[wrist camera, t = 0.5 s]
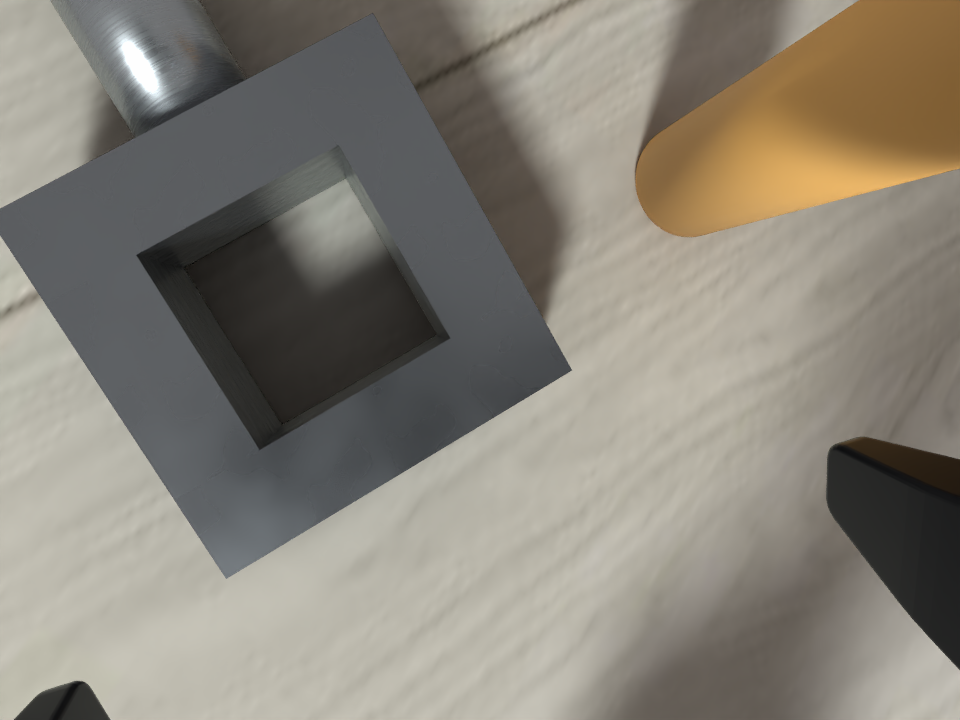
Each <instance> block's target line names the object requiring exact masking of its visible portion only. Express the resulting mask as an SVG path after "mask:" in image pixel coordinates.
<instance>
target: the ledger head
mask: <svg viewBox="0 0 960 720" xmlns="http://www.w3.org/2000/svg"><path fill="white" fill-rule="evenodd" d="M50 1H51V3H52V4H53V6H54V8H55V9H56V11H57V13H58V14H59V16H60V17H61V19H62V21H63V22H64V24H65V25H66V27H67V29H68V30H69V32H70V34H71V35H72V37H73V38H74V40H75V42H76V43H77V45H78V46H79V48H80V50H81V51H82V53H83V55H84V56H85V58H86V59H87V61H88V63H89V64H90V66H91V67H92V69H93V71H94V72H95V74H96V76H97V77H98V79H99V80H100V82H101V84H102V85H103V87H104V89H105V90H106V92H107V93H108V95H109V97H110V98H111V100H112V101H113V103H114V105H115V106H116V108H117V110H118V111H119V113H120V114H121V116H122V118H123V119H124V121H125V122H126V124H127V126H128V127H129V129H130V131H131V132H132V134H133V135H134V137H135V138H134V139H132V140H130V141H128V142H126V143H124V144H123V145H121V146H119V147H117V148H115V149H113V150H111V151H109V152H107V153H105V154H104V155H102V156H100V157H98V158H96V159H94V160H92V161H90V162H88V163H86V164H84V165H83V166H81V167H79V168H77V169H75V170H73V171H71V172H69V173H67V174H65V175H64V176H62V177H60V178H58V179H56V180H54V181H52V182H50V183H48V184H46V185H44V186H43V187H41V188H39V189H37V190H35V191H33V192H31V193H29V194H27V195H25V196H24V197H22V198H20V199H18V200H16V201H14V202H12V203H10V204H8V205H6V206H4V207H3V208H1V209H0V236H1V237H2V239H3V240H4V242H5V243H6V245H7V246H8V248H9V249H10V251H11V252H12V254H13V255H14V257H15V258H16V260H17V261H18V263H19V264H20V266H21V268H22V269H23V271H24V272H25V274H26V275H27V277H28V278H29V280H30V281H31V283H32V284H33V286H34V287H35V289H36V290H37V292H38V293H39V295H40V296H41V298H42V299H43V301H44V302H45V304H46V306H47V307H48V309H49V310H50V312H51V313H52V315H53V316H54V318H55V319H56V321H57V322H58V324H59V325H60V327H61V328H62V330H63V331H64V333H65V334H66V336H67V337H68V339H69V340H70V342H71V344H72V345H73V347H74V348H75V350H76V351H77V353H78V354H79V356H80V357H81V359H82V360H83V362H84V363H85V365H86V366H87V368H88V369H89V371H90V372H91V374H92V375H93V377H94V378H95V380H96V382H97V383H98V385H99V386H100V388H101V389H102V391H103V392H104V394H105V395H106V397H107V398H108V400H109V401H110V403H111V404H112V406H113V407H114V409H115V410H116V412H117V413H118V415H119V416H120V418H121V420H122V421H123V423H124V424H125V426H126V427H127V429H128V430H129V432H130V433H131V435H132V436H133V438H134V439H135V441H136V442H137V444H138V445H139V447H140V448H141V450H142V451H143V453H144V454H145V456H146V458H147V459H148V461H149V462H150V464H151V465H152V467H153V468H154V470H155V471H156V473H157V474H158V476H159V477H160V479H161V480H162V482H163V483H164V485H165V486H166V488H167V489H168V491H169V492H170V494H171V496H172V497H173V499H174V500H175V502H176V503H177V505H178V506H179V508H180V509H181V511H182V512H183V514H184V515H185V517H186V518H187V520H188V521H189V523H190V524H191V526H192V527H193V529H194V530H195V532H196V534H197V535H198V537H199V538H200V540H201V541H202V543H203V544H204V546H205V547H206V549H207V550H208V552H209V553H210V555H211V556H212V558H213V559H214V561H215V562H216V564H217V565H218V567H219V569H220V570H221V572H222V573H223V575H224V576H225V578H226V579H227V578H228V577H230V576H232V575H233V574H235V573H237V572H238V571H240V570H242V569H243V568H245V567H247V566H248V565H250V564H252V563H253V562H255V561H257V560H258V559H260V558H261V557H263V556H265V555H266V554H268V553H270V552H271V551H273V550H275V549H276V548H278V547H280V546H281V545H283V544H285V543H286V542H288V541H290V540H291V539H293V538H295V537H296V536H298V535H300V534H301V533H303V532H305V531H306V530H308V529H310V528H311V527H313V526H315V525H316V524H318V523H320V522H321V521H323V520H325V519H326V518H328V517H330V516H331V515H333V514H335V513H336V512H338V511H339V510H341V509H343V508H344V507H346V506H348V505H349V504H351V503H353V502H354V501H356V500H358V499H359V498H361V497H363V496H364V495H366V494H368V493H369V492H371V491H373V490H374V489H376V488H378V487H379V486H381V485H383V484H384V483H386V482H388V481H389V480H391V479H393V478H394V477H396V476H398V475H399V474H401V473H403V472H404V471H406V470H408V469H409V468H411V467H412V466H414V465H416V464H417V463H419V462H421V461H422V460H424V459H426V458H427V457H429V456H431V455H432V454H434V453H436V452H437V451H439V450H441V449H442V448H444V447H446V446H447V445H449V444H451V443H452V442H454V441H456V440H457V439H459V438H461V437H462V436H464V435H466V434H467V433H469V432H471V431H472V430H474V429H476V428H477V427H479V426H481V425H482V424H484V423H486V422H487V421H489V420H490V419H492V418H494V417H495V416H497V415H499V414H500V413H502V412H504V411H505V410H507V409H509V408H510V407H512V406H514V405H515V404H517V403H519V402H520V401H522V400H524V399H525V398H527V397H529V396H530V395H532V394H534V393H535V392H537V391H539V390H540V389H542V388H544V387H545V386H547V385H549V384H550V383H552V382H554V381H555V380H557V379H559V378H560V377H562V376H564V375H565V374H567V373H568V372H570V371H572V369H571V368H570V366H569V364H568V362H567V360H566V359H565V357H564V355H563V353H562V352H561V350H560V348H559V346H558V344H557V343H556V341H555V339H554V337H553V335H552V334H551V332H550V330H549V328H548V326H547V325H546V323H545V321H544V319H543V317H542V316H541V314H540V312H539V310H538V308H537V307H536V305H535V303H534V301H533V299H532V298H531V296H530V294H529V292H528V291H527V289H526V287H525V285H524V283H523V282H522V280H521V278H520V276H519V274H518V273H517V271H516V269H515V267H514V265H513V264H512V262H511V260H510V258H509V256H508V255H507V253H506V251H505V249H504V247H503V246H502V244H501V242H500V240H499V238H498V237H497V235H496V233H495V231H494V230H493V228H492V226H491V224H490V222H489V221H488V219H487V217H486V215H485V213H484V212H483V210H482V208H481V206H480V204H479V203H478V201H477V199H476V197H475V195H474V194H473V192H472V190H471V188H470V186H469V185H468V183H467V181H466V179H465V177H464V176H463V174H462V172H461V170H460V169H459V167H458V165H457V163H456V161H455V160H454V158H453V156H452V154H451V152H450V151H449V149H448V147H447V145H446V143H445V142H444V140H443V138H442V136H441V134H440V133H439V131H438V129H437V127H436V125H435V124H434V122H433V120H432V118H431V116H430V115H429V113H428V111H427V109H426V108H425V106H424V104H423V102H422V100H421V99H420V97H419V95H418V93H417V91H416V90H415V88H414V86H413V84H412V82H411V81H410V79H409V77H408V75H407V73H406V72H405V70H404V68H403V66H402V64H401V63H400V61H399V59H398V57H397V55H396V54H395V52H394V50H393V48H392V46H391V45H390V43H389V41H388V39H387V38H386V36H385V34H384V32H383V30H382V29H381V27H380V25H379V23H378V21H377V20H376V18H375V16H374V14H373V13H372V14H370V15H368V16H366V17H365V18H363V19H361V20H359V21H357V22H355V23H353V24H351V25H349V26H347V27H345V28H344V29H342V30H340V31H338V32H336V33H334V34H332V35H330V36H328V37H326V38H325V39H323V40H321V41H319V42H317V43H315V44H313V45H311V46H309V47H307V48H305V49H304V50H302V51H300V52H298V53H296V54H294V55H292V56H290V57H288V58H286V59H285V60H283V61H281V62H279V63H277V64H275V65H273V66H271V67H269V68H267V69H265V70H264V71H262V72H260V73H258V74H256V75H254V76H252V77H250V78H248V79H245V77H244V75H243V74H242V72H241V70H240V69H239V67H238V65H237V64H236V62H235V60H234V58H233V57H232V55H231V53H230V52H229V50H228V48H227V47H226V45H225V43H224V42H223V40H222V38H221V36H220V35H219V33H218V31H217V30H216V28H215V26H214V25H213V23H212V21H211V19H210V18H209V16H208V14H207V13H206V11H205V9H204V8H203V6H202V4H201V2H200V1H199V0H50ZM344 179H347V181H348V182H349V184H350V186H351V188H352V189H353V191H354V193H355V194H356V196H357V198H358V200H359V201H360V203H361V205H362V207H363V208H364V210H365V212H366V213H367V215H368V217H369V219H370V220H371V222H372V224H373V225H374V227H375V229H376V231H377V232H378V234H379V236H380V237H381V239H382V241H383V243H384V244H385V246H386V248H387V250H388V251H389V253H390V255H391V256H392V258H393V260H394V262H395V263H396V265H397V267H398V268H399V270H400V272H401V274H402V275H403V277H404V279H405V281H406V282H407V284H408V286H409V287H410V289H411V291H412V293H413V294H414V296H415V298H416V299H417V301H418V303H419V305H420V306H421V308H422V310H423V311H424V313H425V315H426V317H427V318H428V320H429V322H430V324H431V325H432V327H433V329H434V330H435V332H436V334H437V335H436V336H434V337H433V338H431V339H429V340H427V341H426V342H424V343H422V344H421V345H419V346H417V347H415V348H414V349H412V350H410V351H409V352H407V353H405V354H403V355H402V356H400V357H398V358H397V359H395V360H393V361H391V362H390V363H388V364H386V365H385V366H383V367H381V368H379V369H378V370H376V371H374V372H373V373H371V374H369V375H367V376H366V377H364V378H362V379H361V380H359V381H357V382H355V383H354V384H352V385H350V386H349V387H347V388H345V389H343V390H342V391H340V392H338V393H337V394H335V395H333V396H331V397H330V398H328V399H326V400H325V401H323V402H321V403H319V404H318V405H316V406H314V407H313V408H311V409H309V410H307V411H306V412H304V413H302V414H301V415H299V416H297V417H295V418H294V419H292V420H290V421H289V422H287V423H285V424H283V425H281V423H280V422H279V420H278V418H277V417H276V415H275V414H274V412H273V410H272V409H271V407H270V406H269V404H268V402H267V401H266V399H265V398H264V396H263V394H262V393H261V391H260V390H259V388H258V386H257V385H256V383H255V382H254V380H253V378H252V377H251V375H250V374H249V372H248V370H247V369H246V367H245V366H244V364H243V362H242V361H241V359H240V358H239V356H238V354H237V353H236V351H235V350H234V348H233V346H232V345H231V343H230V342H229V340H228V338H227V337H226V335H225V334H224V332H223V330H222V329H221V327H220V326H219V324H218V322H217V321H216V319H215V318H214V316H213V314H212V313H211V311H210V310H209V308H208V306H207V305H206V303H205V302H204V300H203V298H202V297H201V295H200V294H199V292H198V290H197V289H196V287H195V286H194V284H193V282H192V281H191V279H190V277H189V276H188V274H187V273H186V271H185V269H184V267H185V266H187V265H189V264H191V263H193V262H195V261H196V260H198V259H200V258H202V257H204V256H206V255H207V254H209V253H211V252H213V251H215V250H216V249H218V248H220V247H222V246H224V245H226V244H227V243H229V242H231V241H233V240H235V239H236V238H238V237H240V236H242V235H244V234H246V233H247V232H249V231H251V230H253V229H255V228H256V227H258V226H260V225H262V224H264V223H266V222H267V221H269V220H271V219H273V218H275V217H276V216H278V215H280V214H282V213H284V212H286V211H287V210H289V209H291V208H293V207H295V206H297V205H298V204H300V203H302V202H304V201H306V200H307V199H309V198H311V197H313V196H315V195H317V194H318V193H320V192H322V191H324V190H326V189H327V188H329V187H331V186H333V185H335V184H337V183H338V182H340V181H342V180H344Z"/></svg>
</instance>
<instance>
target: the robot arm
mask: <svg viewBox="0 0 960 720" xmlns="http://www.w3.org/2000/svg"><path fill="white" fill-rule="evenodd" d="M826 499H827V504H828V508H829V510H830V512H831V514H832V516H833V518H834V519H835V520H836V522H837V523H838V524H839V526H840V527H841V528H842V530H843V531H844V532H845V533H846V535H847V536H848V537H849V539H850V540H851V541H852V542H853V544H854V545H855V546H856V548H857V549H858V550H859V551H860V553H861V554H862V555H863V557H864V558H865V559H866V561H867V562H868V563H869V564H870V566H871V567H872V568H873V570H874V571H875V572H876V573H877V575H878V576H879V577H880V579H881V580H882V581H883V582H884V584H885V585H886V586H887V588H888V589H889V590H890V592H891V593H892V594H893V595H894V597H895V598H896V599H897V601H898V602H899V603H900V604H901V605H902V607H903V608H904V609H905V610H906V612H907V613H908V614H909V615H910V616H911V618H912V619H913V620H914V621H915V622H916V623H917V624H918V625H919V627H920V628H921V629H922V630H923V631H924V632H925V633H926V634H927V636H928V637H929V638H930V639H931V640H932V641H933V642H934V643H935V644H936V645H937V646H938V647H939V648H940V649H941V651H942V652H943V653H944V654H945V655H946V656H947V657H948V658H949V659H950V660H951V661H952V662H953V663H954V664H955V665H956V667H957V668H958V669H959V670H960V459H956V458H952V457H948V456H944V455H940V454H935V453H931V452H927V451H923V450H919V449H914V448H910V447H906V446H902V445H898V444H894V443H889V442H885V441H881V440H877V439H873V438H869V437H857V438H853V439H850V440H847V441H844V442H840V443H837V444H835V445H833V446H832V447H831V448H830V450H829V452H828V456H827V488H826ZM14 720H110V718H109V717H108V715H107V713H106V712H105V710H104V708H103V707H102V705H101V704H100V702H99V700H98V699H97V697H96V695H95V694H94V692H93V691H92V689H91V688H90V686H89V685H88V684H86V683H85V682H83V681H73V682H70V683H67V684H64V685H60V686H57V687H54V688H51V689H48V690H45V691H43V692H41V693H40V694H38V695H37V696H36V697H35V698H34V699H33V700H32V701H31V702H30V703H29V704H28V705H27V706H26V707H25V708H24V710H23V711H22V712H21V713H20V714H19V715H18V716H17V717H16V718H15V719H14Z"/></svg>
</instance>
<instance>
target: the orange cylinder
mask: <svg viewBox="0 0 960 720" xmlns="http://www.w3.org/2000/svg"><path fill="white" fill-rule="evenodd" d="M956 169H960V0H859V1H857V2H856V3H854V4H853V5H851V6H850V7H848V8H847V9H845V10H844V11H842V12H841V13H839V14H838V15H836V16H835V17H833V18H832V19H830V20H829V21H827V22H826V23H824V24H823V25H821V26H820V27H818V28H817V29H815V30H813V31H812V32H810V33H809V34H807V35H806V36H804V37H803V38H801V39H800V40H798V41H797V42H795V43H794V44H792V45H791V46H789V47H788V48H786V49H785V50H783V51H782V52H780V53H779V54H777V55H776V56H774V57H773V58H771V59H770V60H768V61H767V62H765V63H764V64H762V65H761V66H759V67H758V68H756V69H755V70H753V71H752V72H750V73H749V74H747V75H746V76H744V77H743V78H741V79H740V80H738V81H737V82H735V83H733V84H732V85H730V86H729V87H727V88H726V89H724V90H723V91H721V92H720V93H718V94H717V95H715V96H714V97H712V98H711V99H709V100H708V101H706V102H705V103H703V104H702V105H700V106H699V107H697V108H696V109H694V110H693V111H691V112H690V113H688V114H687V115H685V116H684V117H682V118H681V119H679V120H678V121H676V122H675V123H673V124H672V125H670V126H669V127H667V128H666V129H664V130H663V131H661V132H660V133H658V134H657V135H656V136H654V137H653V138H652V139H651V140H650V142H649V143H648V144H647V145H646V147H645V148H644V150H643V152H642V154H641V156H640V158H639V161H638V164H637V169H636V178H635V180H636V190H637V195H638V198H639V201H640V204H641V206H642V208H643V210H644V211H645V213H646V215H647V216H648V217H649V218H650V220H651V221H652V222H654V223H655V224H656V225H657V226H658V227H660V228H661V229H662V230H664V231H666V232H668V233H671V234H673V235H677V236H681V237H696V236H702V235H705V234H709V233H713V232H717V231H721V230H725V229H729V228H732V227H736V226H740V225H744V224H748V223H752V222H756V221H759V220H763V219H767V218H771V217H775V216H779V215H782V214H786V213H790V212H794V211H798V210H802V209H806V208H809V207H813V206H817V205H821V204H825V203H829V202H833V201H836V200H840V199H844V198H848V197H852V196H856V195H860V194H863V193H867V192H871V191H875V190H879V189H883V188H886V187H890V186H894V185H898V184H902V183H906V182H910V181H913V180H917V179H921V178H925V177H929V176H933V175H937V174H940V173H944V172H948V171H952V170H956Z"/></svg>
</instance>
